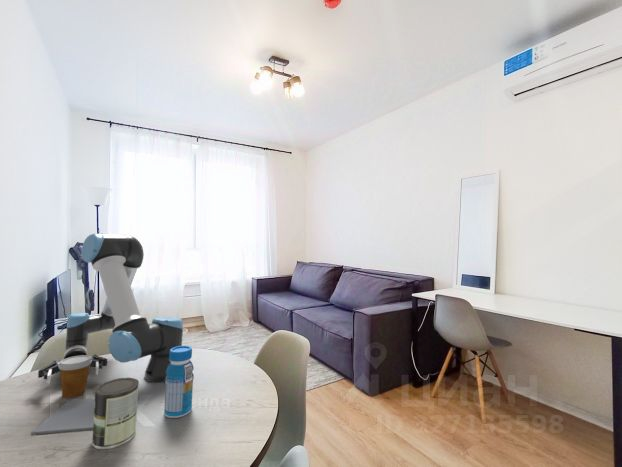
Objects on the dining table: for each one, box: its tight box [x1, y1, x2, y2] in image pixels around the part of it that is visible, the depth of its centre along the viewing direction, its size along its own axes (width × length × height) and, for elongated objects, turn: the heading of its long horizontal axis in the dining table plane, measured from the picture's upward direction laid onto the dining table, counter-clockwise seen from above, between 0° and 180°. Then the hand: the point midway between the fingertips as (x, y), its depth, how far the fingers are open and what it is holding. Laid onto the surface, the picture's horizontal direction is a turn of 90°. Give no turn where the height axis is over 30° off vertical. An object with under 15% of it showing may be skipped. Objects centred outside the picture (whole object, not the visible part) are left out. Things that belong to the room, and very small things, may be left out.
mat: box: [31, 397, 95, 436], centre depth 94 cm, size 18×18×1 cm
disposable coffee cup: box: [58, 354, 92, 399], centre depth 106 cm, size 10×10×12 cm
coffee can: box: [91, 377, 140, 450], centre depth 83 cm, size 10×10×14 cm
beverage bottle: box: [163, 345, 195, 419], centre depth 97 cm, size 8×8×20 cm
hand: (73, 375), depth 106 cm, fingers open, 13 cm apart
